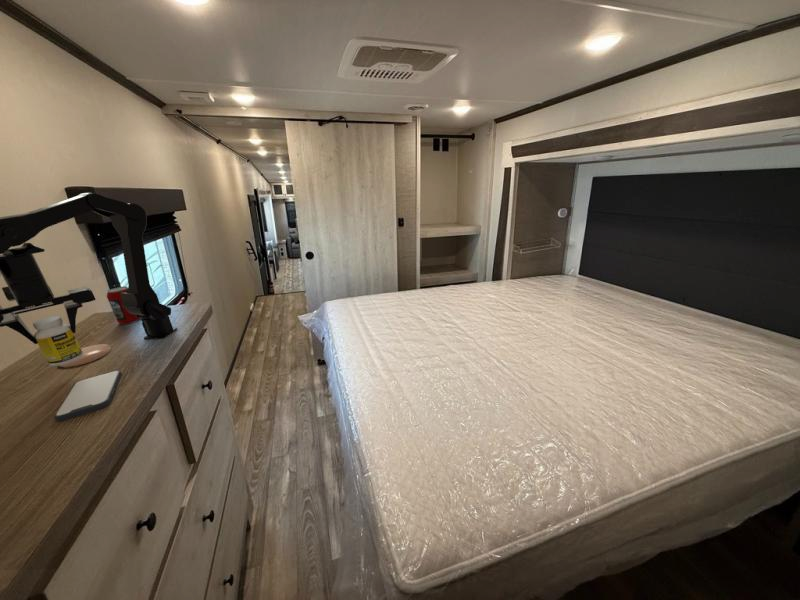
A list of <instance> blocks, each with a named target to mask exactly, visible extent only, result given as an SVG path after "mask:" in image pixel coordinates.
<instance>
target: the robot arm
mask: <svg viewBox="0 0 800 600" xmlns="http://www.w3.org/2000/svg"><path fill="white" fill-rule="evenodd" d="M90 212H94V213H95V214H98V215H100V216H101V217H105V218H108V219H110V222H111V224H112V226H113V228H114V230H115V231H116V232H117V234H118V235H119V237H120V242H121V247H122V253H123V259H124V265H125V271H126V278H127V284H128V286H127V287H128V289H127V292H126V293H121V298H122V307H125V309H126V311H127V312H129V313H131V314H134V315H135V316H136V317H137V318H140V320H141V325H142V327H143V330H144V333H145V336H144V337H143V339H144V340H155V339H165V338H166V337H168V336H169V335H170V334H172V333H175V331H177V330H178V327H173V325H172V322H171V319H170V317H169V316H170V315H171V314H172V308H171V307H170V306H168V305H165V304H162V303H161V302H160V300H159V298H158V293H156V292H155V290H154V288H152V286H151V284H150V279H149V272H148V264H147V258H146V253H145V252H146V251H145V245H144V239H143V238H144V237H143V236H144V233H145V230H146V228H147V220H148V219H147V218H148V215H147V211H146V209H144V208H143V207H142V206H141V205H139V204H137V203H127V202H124V201H121V200H117V199H114V198H110V197H106V196H104V195H101V194H98V193H96V192H83V193H80V194H78V195H76V196H73V197H70V198H68V199H65V200H62V201H61V200H60V201H58V202H55V203H52V204H49V205H47V206H44V207H40V208H38V209H34V210H32V211H28V212H25V213H20V214H12V215H7V216H0V275H1V276H2V278H3V280H4V282H5V284H6V285H7V286H5V287H4V286H3V287H1V290H2V292H3V295H4V296H5V298H6V299H7V300H8V302H13V301H15V302H16V303H17V305H14V306H13V305H12V306H9V307H5V308H3V307H2V306H1V305H0V328H2V327H7V328H10V329H11V330H14V331H15V332H17V333H19V334H20V335H22V336H23V337H25V338H26V339H27V340H29V341H31V342H32V344H34V345H37V344H38V343H37V341H36V339H35V337H34V333H32V331H31V330H30V329H29V327H28V326H27V324H25V322H24V321H23V319H22V318H21V316H20V315H19V314H24V313H29V312H32V311H36V310H37V311H38V310H42V309H46V308H50V307H54V306H58V305H63V306H64V309H65V313H66V317H67V320H68V323H69V324H68V325H69V326H70V327H71V330H72V332H73V333H74V334H76V330H77V329H76V325H77V324H76V322H77V321H76V319H77V315H78V309H80V308H83V306H84V305H83V304H86V303H91V302H93V301H96V297H95V295H94V293H93V291H92V289H90V287H87V286H83V287H78V288H74V289H68V290H67V293H68V294H63V295H59V296H55V294H54V293H53V291H52V289H51V287H50V286H49V285H48V281H46V280H47V279H46V278H45V276H44V274H43V272H42V270H41V267H40V266H39V264H38V262H37V260H36V258H35V256H34V254H39V253H40V254H41V253H43V252H45V251H46V250H45V248H42V247H39V246H37V245H35V244H33V243H31V242H28V241H30V240H32V239H33V238H34V237H37V236H38V234H40V233H41V232H42V231H44V230H45V229H47V228H49V227H52V226H54V225H57V224H61V223H62V222H66V221H68V220H71V219H73V218H76V217H78V216H81V215H85V214H86V213H90ZM18 246H20V247H18ZM13 247H14V248H13Z"/></svg>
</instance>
